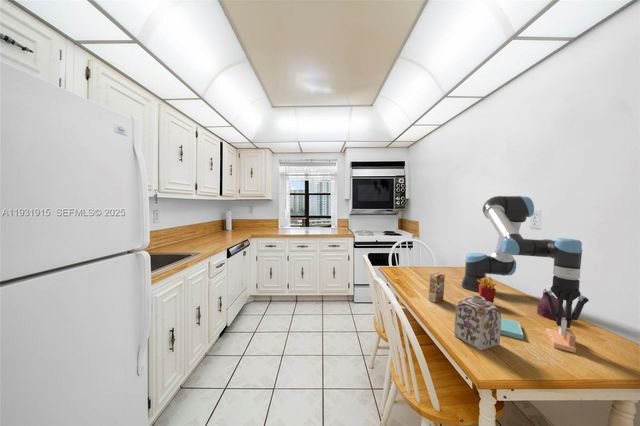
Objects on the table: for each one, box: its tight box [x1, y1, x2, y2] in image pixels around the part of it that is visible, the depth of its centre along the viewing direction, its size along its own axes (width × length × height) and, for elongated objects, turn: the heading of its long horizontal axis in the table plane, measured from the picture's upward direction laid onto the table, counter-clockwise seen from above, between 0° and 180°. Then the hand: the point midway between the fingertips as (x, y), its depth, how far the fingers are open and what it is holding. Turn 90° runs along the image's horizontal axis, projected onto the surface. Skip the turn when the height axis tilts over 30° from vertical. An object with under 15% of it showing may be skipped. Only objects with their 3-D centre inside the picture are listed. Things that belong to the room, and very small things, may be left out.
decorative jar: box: [453, 295, 502, 352], centre depth 98 cm, size 12×12×18 cm
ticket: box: [500, 317, 524, 341], centre depth 108 cm, size 14×12×2 cm
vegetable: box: [536, 288, 565, 321], centre depth 121 cm, size 10×10×15 cm
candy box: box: [428, 272, 446, 303], centre depth 139 cm, size 9×4×15 cm, turn 123°
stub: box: [545, 327, 577, 354], centre depth 98 cm, size 14×6×6 cm, turn 146°
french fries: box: [477, 276, 497, 304], centre depth 136 cm, size 9×8×15 cm
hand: (562, 334), depth 97 cm, fingers closed
